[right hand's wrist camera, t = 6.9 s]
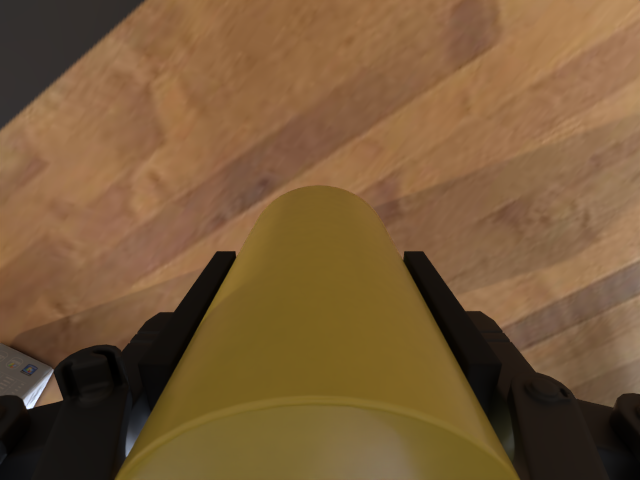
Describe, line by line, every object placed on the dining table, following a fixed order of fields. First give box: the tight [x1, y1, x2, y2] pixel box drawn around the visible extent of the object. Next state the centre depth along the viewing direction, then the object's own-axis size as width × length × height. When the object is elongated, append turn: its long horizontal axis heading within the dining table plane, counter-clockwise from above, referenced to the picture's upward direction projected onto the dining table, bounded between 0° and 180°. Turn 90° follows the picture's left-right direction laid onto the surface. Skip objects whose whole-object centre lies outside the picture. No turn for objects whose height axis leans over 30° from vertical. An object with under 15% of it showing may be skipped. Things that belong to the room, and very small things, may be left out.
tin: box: [114, 186, 520, 480], centre depth 11 cm, size 7×7×12 cm
